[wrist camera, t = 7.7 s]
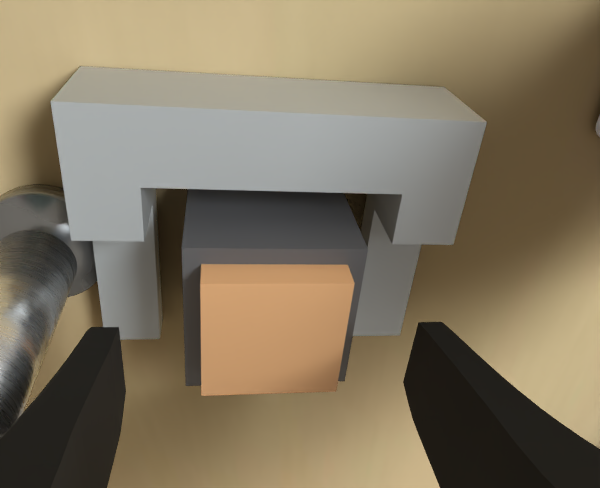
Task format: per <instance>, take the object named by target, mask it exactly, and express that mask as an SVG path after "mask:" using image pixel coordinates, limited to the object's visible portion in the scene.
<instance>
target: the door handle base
mask: <svg viewBox="0 0 600 488" xmlns="http://www.w3.org/2000/svg"><path fill="white" fill-rule="evenodd" d="M22 230H37V231H42V232H46V233H49V234H51V235H53V236H55V237H57V238H59V239H60V240H62V241H63V242H64V243H65V244H66V245H68V247H69V248H70V249H71V250H72V252H73V253H74V255H75V258H76V261H77V273H76V276H75V279H74V281H73V284H72V287H71V289H70V292H69V294H68V297H70V296H74V295H77V294H79V293H82V292H83V291H85V290H87V289H88V288H90V287H91V286H92V285H93V284H94V283H95V282H96V281H97V274H96V266H95V258H94V250H93V242H92V241H71V235H70V229H69V222H68V215H67V209H66V202H65V195H64V189H62V188H59V187H55V186H50V185H27V186H22V187H18V188H15V189H13V190H10V191H8V192H7V193H5V194H3V195H2V196H1V197H0V241H1V240H2V239H3V238H5V237H6V236H7V235H9V234H11V233H14V232H17V231H22Z"/></svg>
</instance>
